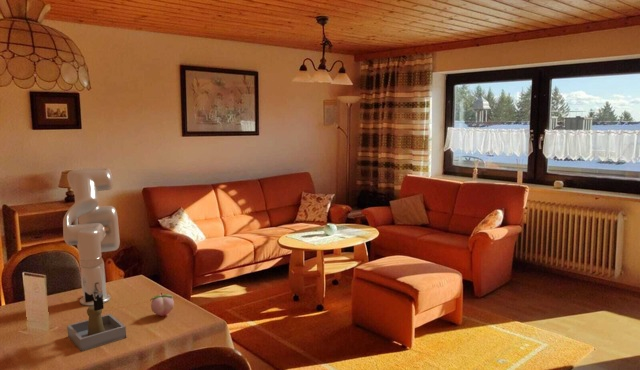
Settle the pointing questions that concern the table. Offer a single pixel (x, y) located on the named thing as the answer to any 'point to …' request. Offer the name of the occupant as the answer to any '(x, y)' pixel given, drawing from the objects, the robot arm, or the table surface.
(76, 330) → the box
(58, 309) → the table surface
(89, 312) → the cork
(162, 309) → the decorative fruit
